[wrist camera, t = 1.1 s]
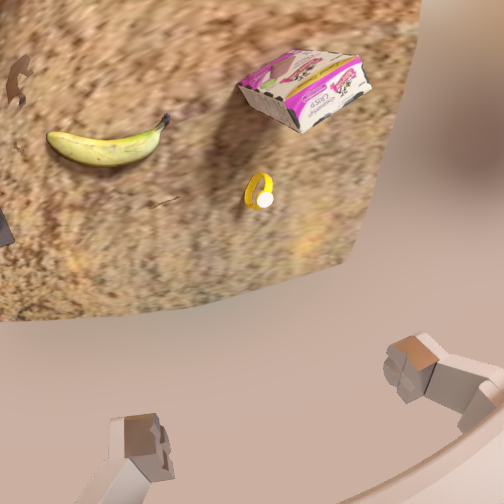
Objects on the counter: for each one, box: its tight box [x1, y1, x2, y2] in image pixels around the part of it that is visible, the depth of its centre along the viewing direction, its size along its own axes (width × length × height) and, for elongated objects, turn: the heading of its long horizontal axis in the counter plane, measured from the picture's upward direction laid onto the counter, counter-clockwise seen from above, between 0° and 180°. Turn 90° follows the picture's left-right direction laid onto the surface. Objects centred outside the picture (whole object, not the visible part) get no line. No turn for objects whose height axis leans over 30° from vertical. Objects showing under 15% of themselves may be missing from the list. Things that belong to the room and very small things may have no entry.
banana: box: [6, 54, 179, 210], centre depth 39 cm, size 35×27×4 cm
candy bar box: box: [237, 49, 372, 134], centre depth 38 cm, size 11×5×16 cm, turn 122°
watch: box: [244, 172, 273, 210], centre depth 52 cm, size 6×3×6 cm, turn 152°
